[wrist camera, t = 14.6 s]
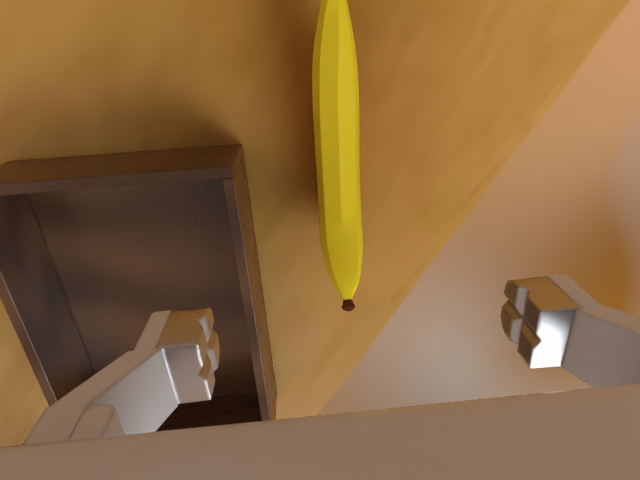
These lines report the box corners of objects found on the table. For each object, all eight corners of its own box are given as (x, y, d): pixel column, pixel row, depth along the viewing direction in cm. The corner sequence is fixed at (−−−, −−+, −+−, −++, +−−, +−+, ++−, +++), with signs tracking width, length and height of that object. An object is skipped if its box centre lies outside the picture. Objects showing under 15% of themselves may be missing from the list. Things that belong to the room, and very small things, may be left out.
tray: (9, 160, 29) (-50, 187, 24) (242, 143, 29) (232, 166, 24) (103, 408, 38) (74, 464, 33) (276, 392, 39) (274, 445, 34)
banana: (353, -21, 25) (371, -37, 20) (358, 263, 33) (372, 310, 28) (303, -18, 25) (307, -34, 19) (320, 266, 33) (327, 314, 28)
